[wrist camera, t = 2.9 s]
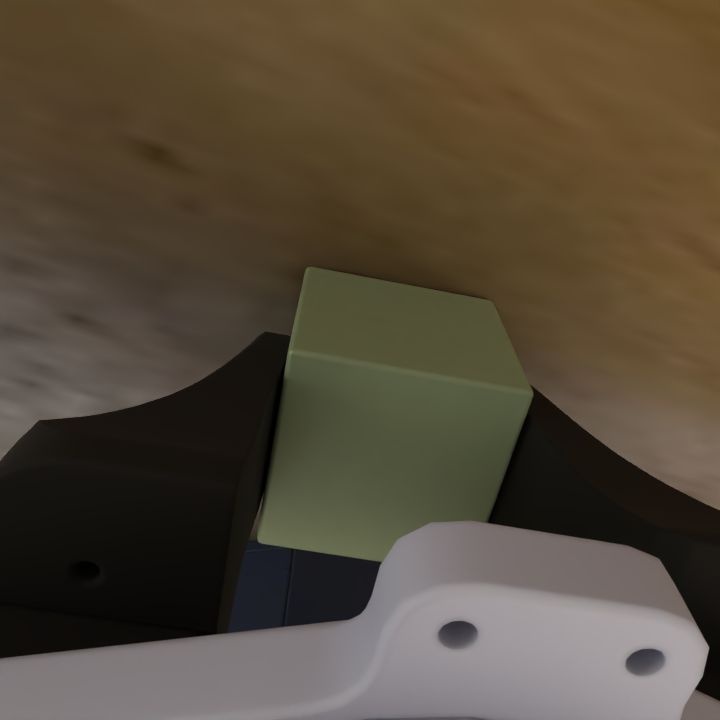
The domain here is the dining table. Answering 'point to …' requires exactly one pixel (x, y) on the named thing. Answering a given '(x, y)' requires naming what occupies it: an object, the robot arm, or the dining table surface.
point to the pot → (299, 588)
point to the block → (389, 415)
